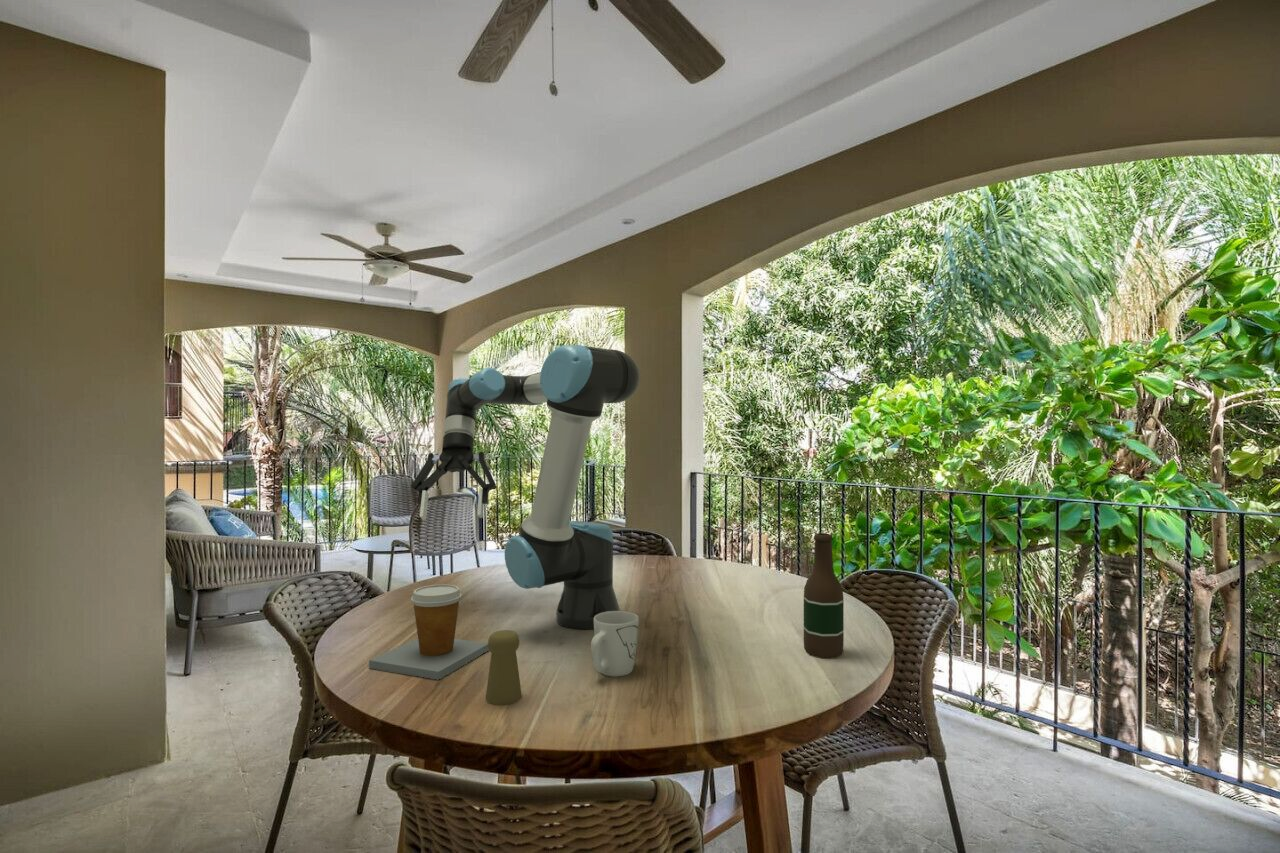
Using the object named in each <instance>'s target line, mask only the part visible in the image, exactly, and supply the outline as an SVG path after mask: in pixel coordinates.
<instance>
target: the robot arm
mask: <svg viewBox="0 0 1280 853" xmlns="http://www.w3.org/2000/svg"><path fill="white" fill-rule="evenodd" d="M640 382H641V372H640V368H639V366H638V363H637V362H636V361H635V359H633V357H631V356H630V355H629V354H628V353H626V352H623V351H621V350H617V349H610V348H609V349H608V348H602V347H601V348H600V347H594V346H588V345H581V344H564V345H563V344H562V345H559V346H557V347H556V348H555V349H553V350H552V351H551V352H550V353H549V354H548V355H547V356H546V358H545V360H544V361H543V363H542V366H541V370H540V373H537V374H530V375H509V374H507V375H506V374H502V372H500V371H499V370H497V369H495V368H494V367H484V368H482V369H481V370H479V371H478V372H475V373H473V375H471V377H469V378H465V377H462V378H461V377H460V378H457V379H456V378H455V379H453V380H451V381H450V383H449V386H448V391H447V393H446V408H445V419H444V420H445V421H444V428H443V439H442V447H441V453H440V454H433V452H429V453H428V454H427V459H426V462H425V463H424V464H423V467H421V469H420V471H419V472H418V473H417V476H416V477H415V479H414V480H413V482H412V484H411V485H410V487H411V489H412V490H413V491H414V492H418V493H417V500H416V502H417V505H418V506H420V509H419V510H420V511H419V518H420V519H421V520H422V521H425V520H427V514H428V504H429V495H430V494H429V493H428V491H429V490H430V489H431V488H432V487H433V486H434V485H435V484H436V483H437V482H438V481H439V480H440V479H441V478H442V477H443V476H444V475H446V474H447V473H448V472H450V473H456V472H457V473H463V472H465V471H467V472H468V474H470V475H471V477H472V478H473V479H474V480H475V482H476V483H477V484H478V485H479V486H480V487H481V488H479V490H478V499H477V500H478V501H477V502H478V503H477V512H476V515H477V516H478V518H479V519H483V518H484V505H488V503H489V495H490V491H492V490H496V489H497V484H496V482H495V480H494V477H493V475H492V474H491V471H490V469H489V468H488V466H487V463H486V459H487V458H486V455H485V453H484V452H483V451H480V452H478V453H475V454H474V443H475V438H474V437H475V431H476V418H477V411H478V410H479V409H481V408H483V407H484V406H486V405H488V404H489V405H523V406H540V405H542V404H543V403H546V406H547V408H548V409H549V411H550V412H551V417H550V422H549V427H548V430H547V436H546V441H545V445H544V451H543V455H542V460H541V464H540V467H539V468H540V469H539V474H538V480H537V482H536V486H535V487H536V488H535V492H534V497H533V502H532V507H531V512H530V516H528V517H526V518H525V519H524V520H522V522H521V525H520V526H521V527H520V530H519V534H518V535H513V536H511V537H510V538H509V539H507V541H506V543H505V547H504V562H505V566H506V569H507V573H508V575H509V577H510V578H511V580H512V581H513V582H514V583H515V585H517V586H518V587H519V588H522V589H524V590H529V589H541V588H543V587H545V586H552V585H555V584H559V583H563V588H562V589H563V590H562V592H561V595H560V598H559V601H558V605H557V607H556V612H555V615H556V618H555V619H556V623H557V624H558V625H560V626H562V627H566V628H570V629H576V630H577V629H579V630H594V617H595V616H596V615H597V614H599V613H603V612H608V611H621V608H620V605H619V602H618V598H617V595H616V593H615V589H614V584H613V583H614V578H613V577H614V575H613V573H614V572H613V570H614V564H613V563H614V539H613V529H612V527H611V526H610V525H608V524H605V523H600V522H599V523H598V522H592V521H579V520H578V521H577V520H571V516H572V512H573V508H574V505H575V499H576V495H577V492H578V491H577V490H578V487H579V486H578V485H579V481H580V477H581V472H582V468H583V463H584V458H585V455H586V450H587V447H588V442H589V437H590V432H591V429H592V423H593V422H595V421H596V420H598V419H599V418H600V417H601V416H602V412H603V408H604V405H605V404H619V403H622V402H623V403H624V402H626V401H628V400H629V399H630V398H632V396H634V395H635V393H636V392H637V391H638V389H639V385H640ZM438 461H440V464H439V465H438V466H437V468H436V469H435V470H434V471H433V472H432V473H431V471H432V470H433V468H434V466H435V464H436V465H437V463H438ZM474 461H476V462H477V463H478V464H480V466H481V468H482V470H483V473H484V475H485V477H486V479H487V481H488V483H486V482H485V481H484V479H482V477H481V476H480V474H478V472H477V471H476V470H475V469H474V468H473V466H472V464H473V462H474ZM430 473H431V474H430ZM429 474H430V475H429Z"/></svg>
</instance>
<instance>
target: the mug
mask: <svg viewBox="0 0 1280 853" xmlns="http://www.w3.org/2000/svg"><path fill="white" fill-rule="evenodd" d="M639 622H640V620H639V616H638V615H637V614H636V613H634V612H630V611H626V610H625V611H624V610H620V611H608V612H603V613H599V614H597V615H596V616H595V617H594V629H593V631H594V632H593V633H594V634H593V635H594V636H593V637H592V639H591V641H590V650H591V651H590V652H591V659H592V666H593V669H594V670H595V671H596V672H599V673H601V674H602V675H604V676H608V677H612V678H613V677H615V678H616V677H617V678H618V677H625V676H627V675H630V674H631V673H632V671H633V669H634V666H635V659H636V654H637V648H638V636H639Z"/></svg>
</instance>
